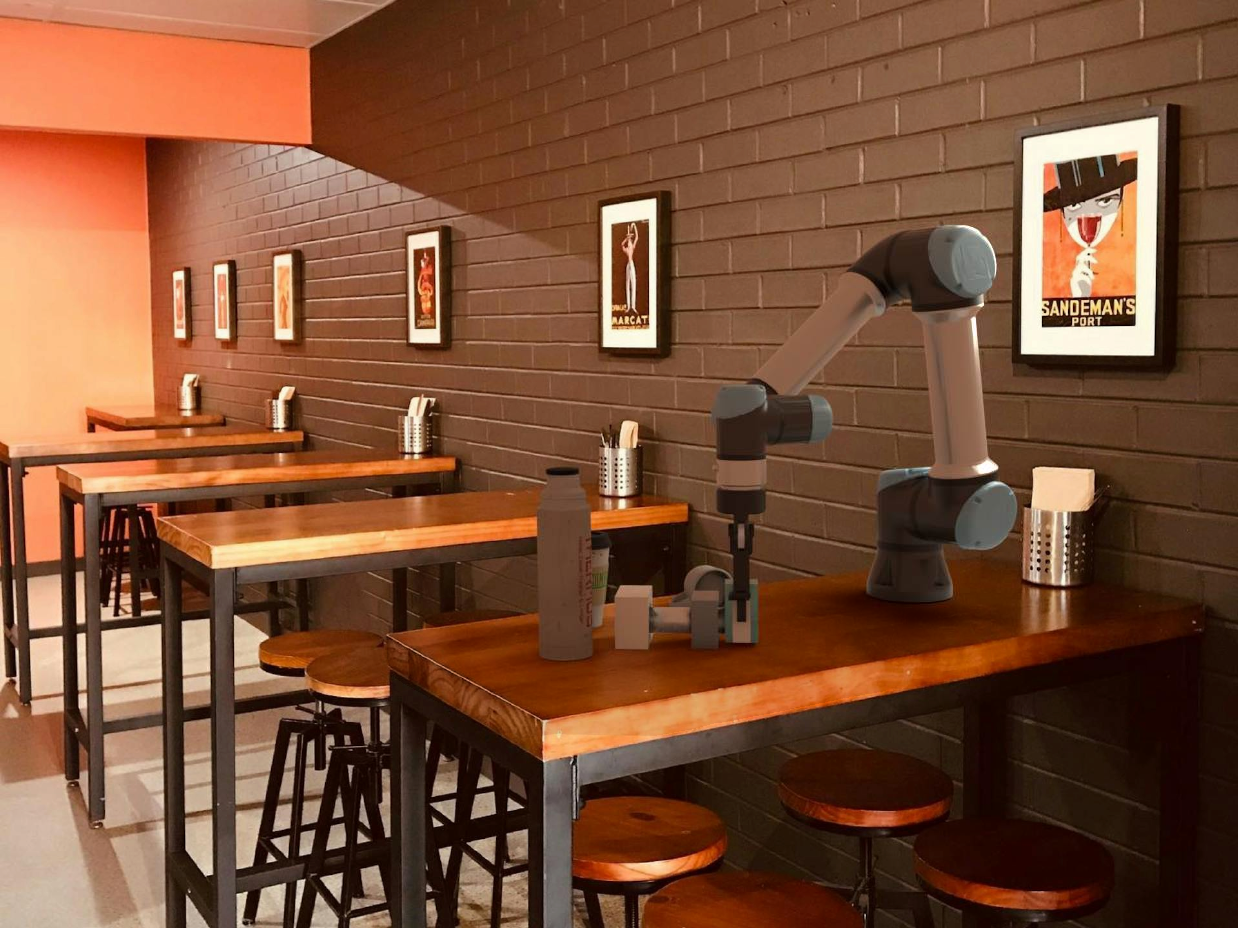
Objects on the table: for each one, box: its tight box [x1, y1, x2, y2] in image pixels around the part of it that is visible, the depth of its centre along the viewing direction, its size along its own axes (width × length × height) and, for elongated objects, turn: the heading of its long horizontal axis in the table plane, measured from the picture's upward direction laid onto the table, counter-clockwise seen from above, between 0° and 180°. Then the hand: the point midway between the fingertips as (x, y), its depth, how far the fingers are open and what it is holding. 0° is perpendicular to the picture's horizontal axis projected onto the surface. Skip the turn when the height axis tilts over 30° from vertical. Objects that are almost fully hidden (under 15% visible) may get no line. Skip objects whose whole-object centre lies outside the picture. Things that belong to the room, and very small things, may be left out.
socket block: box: [614, 584, 654, 650], centre depth 196 cm, size 5×9×8 cm, turn 174°
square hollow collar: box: [690, 591, 720, 650], centre depth 195 cm, size 4×7×7 cm, turn 174°
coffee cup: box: [591, 529, 613, 629], centre depth 209 cm, size 10×10×15 cm
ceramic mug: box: [668, 564, 733, 608], centre depth 219 cm, size 11×8×8 cm
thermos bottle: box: [536, 466, 594, 662], centre depth 188 cm, size 8×8×28 cm
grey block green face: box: [649, 578, 759, 644], centre depth 195 cm, size 20×4×9 cm, turn 84°
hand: (741, 637), depth 195 cm, fingers open, 4 cm apart
